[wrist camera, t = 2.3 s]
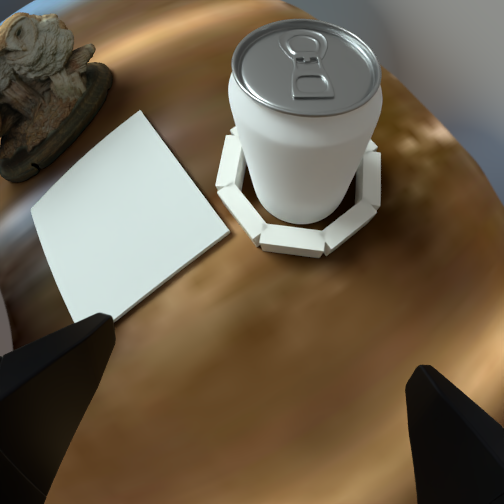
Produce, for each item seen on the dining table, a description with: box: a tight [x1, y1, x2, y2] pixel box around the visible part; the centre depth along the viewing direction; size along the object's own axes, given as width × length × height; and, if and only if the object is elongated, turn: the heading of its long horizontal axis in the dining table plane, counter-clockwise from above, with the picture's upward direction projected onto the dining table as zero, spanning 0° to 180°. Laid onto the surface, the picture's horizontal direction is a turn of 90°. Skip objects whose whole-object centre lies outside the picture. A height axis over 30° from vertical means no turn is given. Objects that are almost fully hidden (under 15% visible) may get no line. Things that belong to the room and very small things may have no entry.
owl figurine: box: [0, 12, 112, 182], centre depth 18 cm, size 18×12×17 cm, turn 130°
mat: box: [31, 110, 231, 323], centre depth 22 cm, size 14×14×1 cm
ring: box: [215, 126, 381, 258], centre depth 20 cm, size 10×10×2 cm
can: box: [228, 19, 382, 224], centre depth 15 cm, size 6×6×12 cm
